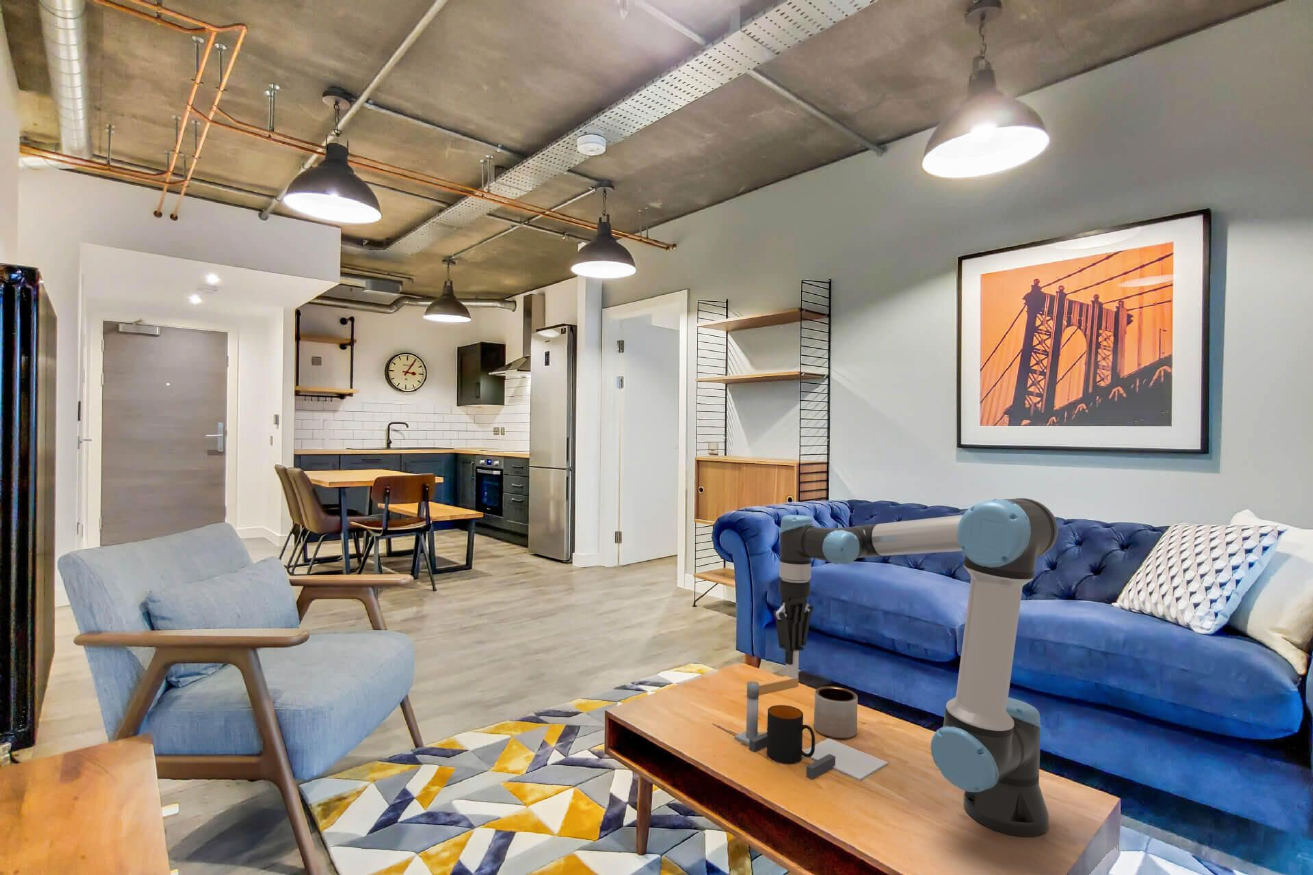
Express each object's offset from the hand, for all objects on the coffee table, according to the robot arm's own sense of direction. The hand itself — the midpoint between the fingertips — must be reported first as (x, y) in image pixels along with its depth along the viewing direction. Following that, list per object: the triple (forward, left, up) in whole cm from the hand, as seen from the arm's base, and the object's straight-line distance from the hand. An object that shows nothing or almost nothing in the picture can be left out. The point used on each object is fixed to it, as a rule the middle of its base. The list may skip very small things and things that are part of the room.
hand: (791, 676), depth 158 cm
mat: (-11, -6, -18) cm, 22 cm away
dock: (0, +3, -18) cm, 18 cm away
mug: (-3, +3, -18) cm, 18 cm away
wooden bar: (+8, -3, -7) cm, 11 cm away
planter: (-1, -18, -18) cm, 25 cm away
